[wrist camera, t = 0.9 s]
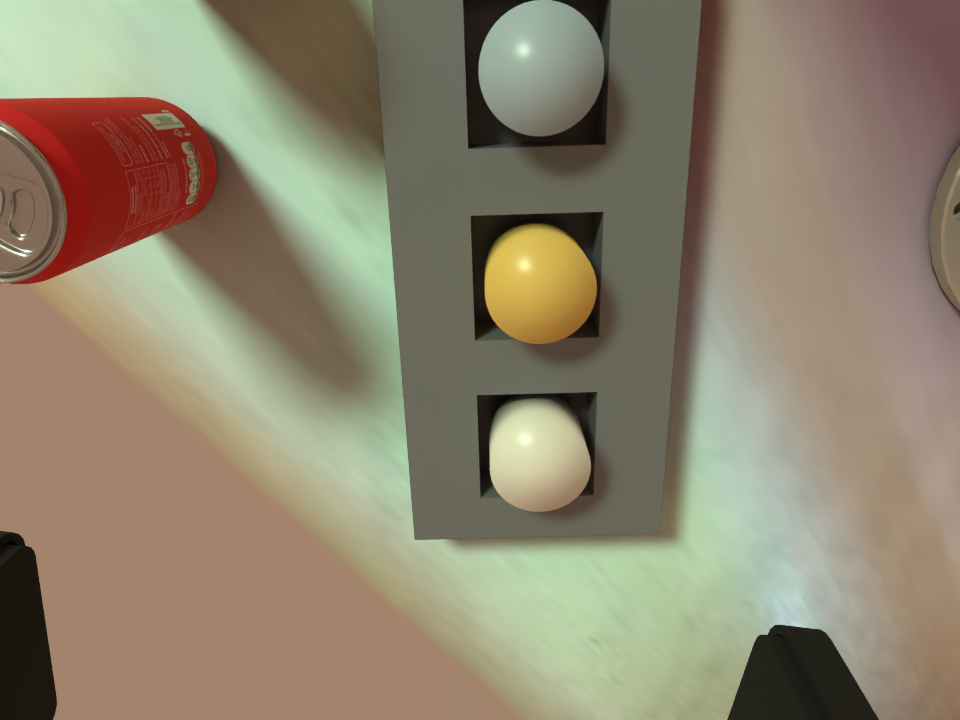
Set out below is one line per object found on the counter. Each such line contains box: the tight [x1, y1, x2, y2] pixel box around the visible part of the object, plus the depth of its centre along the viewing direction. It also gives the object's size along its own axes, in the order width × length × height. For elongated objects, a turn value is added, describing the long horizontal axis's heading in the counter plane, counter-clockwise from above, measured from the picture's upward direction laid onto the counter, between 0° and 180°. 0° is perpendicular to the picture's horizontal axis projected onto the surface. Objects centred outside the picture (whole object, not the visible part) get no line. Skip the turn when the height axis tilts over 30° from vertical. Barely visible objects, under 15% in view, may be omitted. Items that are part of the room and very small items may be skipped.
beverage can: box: [0, 97, 217, 284], centre depth 24 cm, size 5×5×12 cm
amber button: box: [485, 220, 597, 344], centre depth 28 cm, size 4×4×3 cm
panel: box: [372, 0, 702, 540], centre depth 30 cm, size 12×26×3 cm, turn 2°
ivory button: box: [489, 393, 591, 512], centre depth 31 cm, size 4×4×3 cm
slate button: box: [478, 0, 604, 136], centre depth 25 cm, size 4×4×3 cm
